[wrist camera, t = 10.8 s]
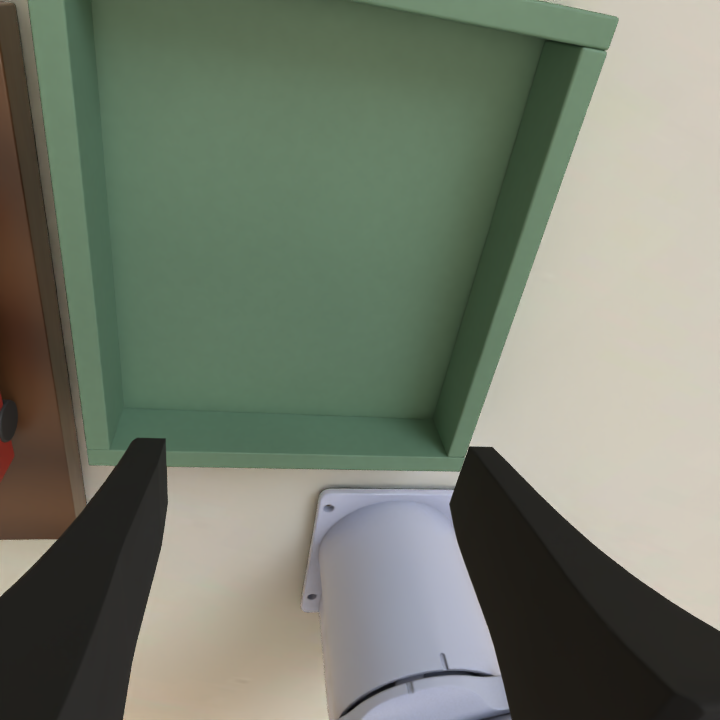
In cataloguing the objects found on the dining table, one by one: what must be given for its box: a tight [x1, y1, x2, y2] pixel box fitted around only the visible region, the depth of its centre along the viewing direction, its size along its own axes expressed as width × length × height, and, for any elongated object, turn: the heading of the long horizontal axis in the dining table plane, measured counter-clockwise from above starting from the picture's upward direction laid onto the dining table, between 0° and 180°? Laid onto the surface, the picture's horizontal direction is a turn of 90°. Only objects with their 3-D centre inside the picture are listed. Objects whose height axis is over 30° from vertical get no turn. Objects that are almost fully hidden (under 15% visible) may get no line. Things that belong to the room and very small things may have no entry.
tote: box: [28, 0, 618, 472], centre depth 19 cm, size 17×15×3 cm
